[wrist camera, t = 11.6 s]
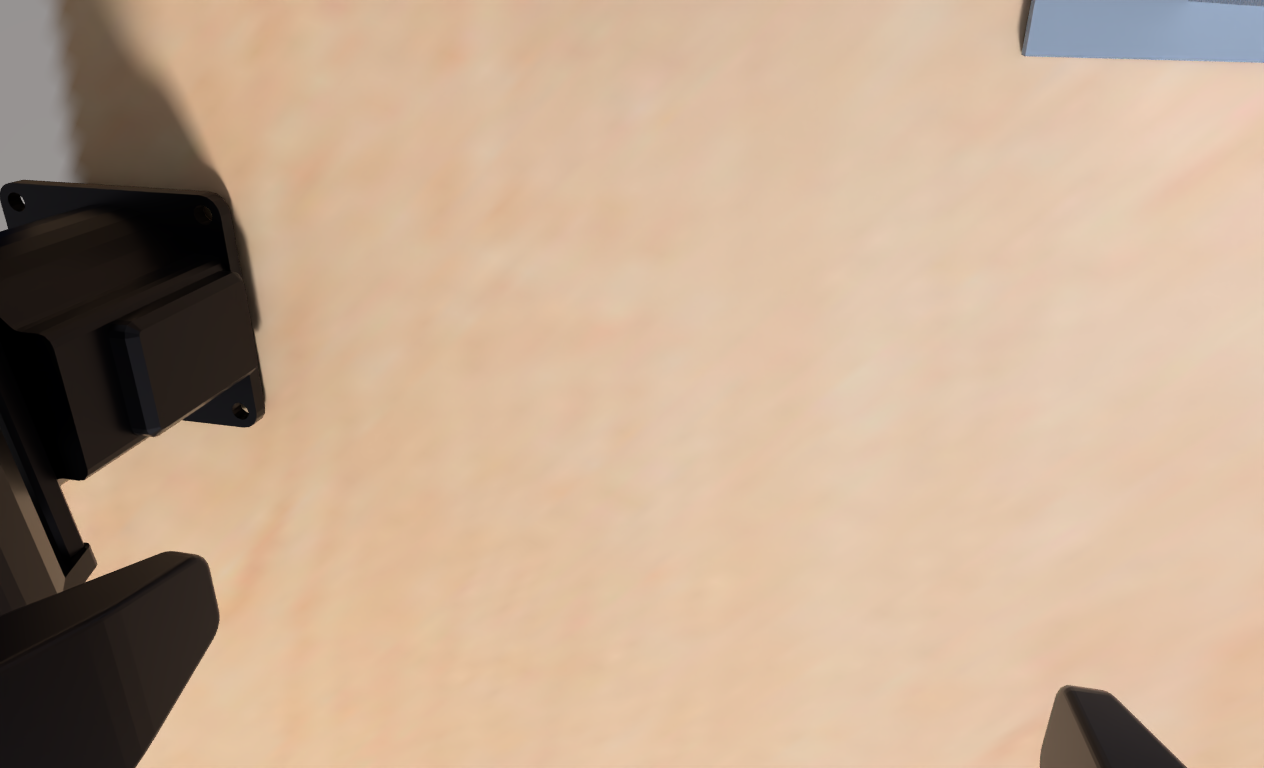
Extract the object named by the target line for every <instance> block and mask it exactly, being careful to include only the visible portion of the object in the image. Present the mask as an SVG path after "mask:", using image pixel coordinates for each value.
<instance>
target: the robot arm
mask: <svg viewBox="0 0 1264 768" xmlns="http://www.w3.org/2000/svg"><path fill="white" fill-rule="evenodd" d="M20 196H21V197H23V200H24V202H25V204H23V202H22V200H21V197H20ZM0 201H1V205H2V208H3V212H4V215H5V219H6V222H7V226H8V229H7V230H4V231H1V232H0V768H135V767H136V766H137V765H138V763H139V762H140V760H141V759H142V757H143V756H144V754H145V753H146V751H147V749H148V748H149V746H150V745H151V743H152V741H153V740H154V738H155V737H156V735H157V733H158V732H159V730H160V728H161V727H162V725H163V723H164V721H165V720H166V718H167V716H168V715H169V713H170V711H171V710H172V708H173V706H174V705H175V703H176V701H177V700H178V698H179V696H180V694H181V693H182V691H183V689H184V688H185V686H186V684H187V683H188V681H189V679H190V678H191V676H192V674H193V672H194V671H195V669H196V667H197V666H198V664H199V662H200V661H201V659H202V657H203V656H204V654H205V652H206V651H207V649H208V647H209V645H210V644H211V642H212V640H213V639H214V637H215V635H216V632H217V629H218V625H219V609H218V604H217V600H216V595H215V591H214V586H213V582H212V578H211V573H210V569H209V565H208V563H207V562H206V560H205V559H204V558H203V557H201V556H199V555H195V554H189V553H182V552H175V551H168V552H163V553H160V554H158V555H155V556H152V557H150V558H147V559H145V560H142V561H139V562H137V563H134V564H132V565H129V566H127V567H124V568H121V569H119V570H116V571H114V572H111V573H109V574H106V575H103V576H101V577H98V578H96V579H93V580H91V581H88V582H85V581H86V580H87V579H88V577H89V576H90V574H91V573H92V572H93V570H94V569H95V568H96V566H97V562H96V559H95V557H94V554H93V552H92V550H91V547H90V545H89V543H83V540H82V538H81V536H80V533H79V531H78V528H77V526H76V523H75V521H74V519H73V516H72V514H71V511H70V509H69V506H68V504H67V502H66V499H65V497H64V494H63V492H62V490H61V487H60V486H61V485H62V484H64V483H65V482H67V481H68V480H78V481H80V480H85V479H87V478H88V477H90V476H91V475H93V474H94V473H96V472H97V471H99V470H100V469H102V468H103V467H105V466H106V465H108V464H109V463H111V462H112V461H114V460H115V459H117V458H118V457H120V456H121V455H123V454H124V453H126V452H127V451H129V450H130V449H132V448H133V447H135V446H136V445H138V444H139V443H141V442H142V441H144V440H145V439H147V438H148V437H156V436H159V435H160V434H162V433H163V432H165V431H166V430H168V429H169V428H171V427H172V426H174V425H175V424H177V423H178V422H180V421H181V420H184V421H193V422H201V423H210V424H219V425H227V426H236V427H250V426H252V425H253V424H255V423H256V422H257V421H259V420H260V419H261V418H262V417H263V415H264V414H265V404H264V399H263V393H262V388H261V382H260V376H259V371H258V359H257V353H256V348H255V342H254V337H253V331H252V325H251V320H250V314H249V308H248V303H247V297H246V291H245V286H244V282H243V280H242V275H241V269H240V264H239V258H238V252H237V247H236V241H235V235H234V230H233V224H232V218H231V213H230V210H229V207H228V205H227V203H226V202H225V201H224V199H223V198H222V197H220V196H219V195H218V194H216V193H212V192H206V191H191V190H175V189H159V188H144V187H128V186H112V185H97V184H81V183H65V182H49V181H33V180H21V181H16V182H12V183H8V184H5V185H4V186H3V187H2V188H1V191H0ZM204 206H206V207H207V208H208V209H209V210H210V212H211V214H212V220H210V219H209V218H208V217H207V216H206V215H205V212H204ZM241 404H243V405H244V406H245V407H246V408H247V409H248V412H249V413H248V412H246V411H245V410H243V409H242V406H241ZM1040 768H1187V767H1186V766H1185V765H1184V764H1183V763H1182V762H1181V761H1180V760H1179V759H1178V758H1177V757H1176V756H1175V755H1174V754H1173V753H1172V752H1171V751H1170V750H1168V749H1167V748H1166V747H1165V746H1164V745H1163V744H1162V743H1161V742H1160V741H1159V740H1158V739H1157V738H1156V737H1155V736H1154V735H1153V734H1152V733H1151V732H1150V731H1149V730H1148V729H1147V728H1146V727H1145V726H1144V725H1143V724H1142V723H1141V722H1140V721H1139V720H1138V719H1137V718H1136V717H1135V716H1134V715H1133V714H1132V713H1131V712H1130V711H1129V710H1128V709H1127V708H1126V707H1125V706H1124V705H1123V704H1122V703H1121V702H1120V701H1119V700H1117V699H1116V698H1115V697H1114V696H1113V695H1112V694H1110V693H1108V692H1106V691H1103V690H1098V689H1091V688H1085V687H1078V686H1071V685H1066V686H1064V687H1062V688H1060V690H1059V691H1058V693H1057V694H1056V697H1055V700H1054V704H1053V708H1052V711H1051V715H1050V719H1049V722H1048V726H1047V729H1046V733H1045V737H1044V740H1043V744H1042V748H1041V755H1040Z"/></svg>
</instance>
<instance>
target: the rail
mask: <svg viewBox="0 0 1264 768" xmlns="http://www.w3.org/2000/svg"><path fill="white" fill-rule="evenodd" d="M1189 1H1190V2H1205V3H1220V4H1234V5H1249V6H1264V0H1189Z"/></svg>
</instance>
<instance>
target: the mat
mask: <svg viewBox="0 0 1264 768" xmlns="http://www.w3.org/2000/svg"><path fill="white" fill-rule="evenodd" d="M1021 55H1024V56H1040V57H1077V58H1113V59H1150V60H1187V61H1224V62H1261V63H1264V6H1249V5H1234V4H1220V3H1205V2H1190V1H1189V0H1031V5H1030V10H1029V16H1028V21H1027V27H1026V32H1025V38H1024V43H1023V49H1022V54H1021Z"/></svg>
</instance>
